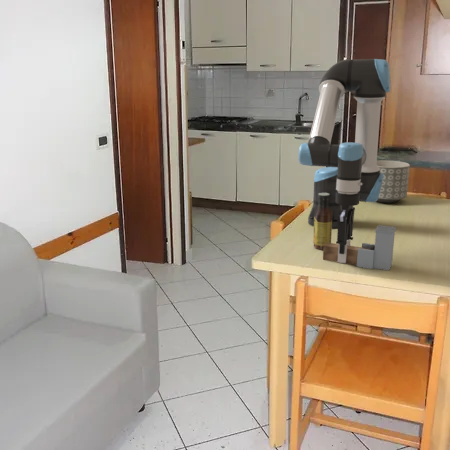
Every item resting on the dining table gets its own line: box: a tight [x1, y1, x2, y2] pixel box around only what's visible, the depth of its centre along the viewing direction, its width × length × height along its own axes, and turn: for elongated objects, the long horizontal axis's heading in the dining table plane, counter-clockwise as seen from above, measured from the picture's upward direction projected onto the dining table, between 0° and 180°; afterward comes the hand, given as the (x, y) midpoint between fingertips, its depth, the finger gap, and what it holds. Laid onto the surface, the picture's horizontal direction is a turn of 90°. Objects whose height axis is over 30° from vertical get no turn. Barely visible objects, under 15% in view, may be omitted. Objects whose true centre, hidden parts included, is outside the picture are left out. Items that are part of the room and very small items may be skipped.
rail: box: [322, 242, 375, 266], centre depth 175 cm, size 16×4×6 cm, turn 64°
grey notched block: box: [356, 224, 397, 271], centre depth 170 cm, size 10×7×13 cm
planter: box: [376, 159, 411, 204], centre depth 253 cm, size 19×19×18 cm
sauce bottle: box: [312, 193, 333, 251], centre depth 187 cm, size 6×6×20 cm
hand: (343, 260), depth 177 cm, fingers open, 4 cm apart
